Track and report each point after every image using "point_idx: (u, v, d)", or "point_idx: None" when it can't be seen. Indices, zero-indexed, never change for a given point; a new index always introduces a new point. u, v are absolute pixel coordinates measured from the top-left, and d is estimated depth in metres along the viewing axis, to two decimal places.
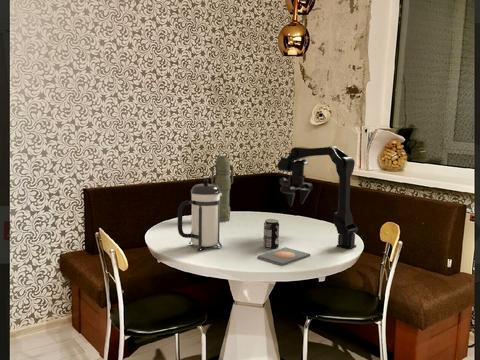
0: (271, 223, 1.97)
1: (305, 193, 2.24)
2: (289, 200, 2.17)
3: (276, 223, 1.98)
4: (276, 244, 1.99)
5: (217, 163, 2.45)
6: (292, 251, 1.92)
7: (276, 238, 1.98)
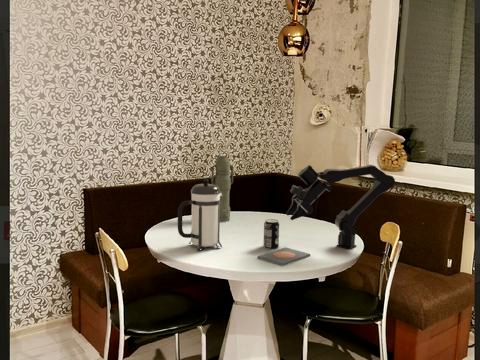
0: (271, 223, 1.97)
1: None
2: (296, 215, 1.95)
3: (276, 223, 1.98)
4: (276, 244, 1.99)
5: (217, 163, 2.45)
6: (292, 251, 1.92)
7: (276, 238, 1.98)
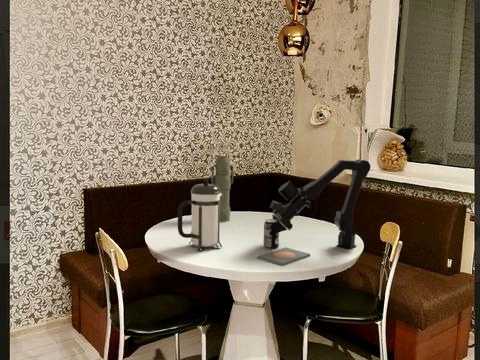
0: (271, 223, 1.97)
1: None
2: (275, 230, 1.96)
3: None
4: (276, 244, 1.99)
5: (217, 163, 2.45)
6: (292, 251, 1.92)
7: (276, 238, 1.98)
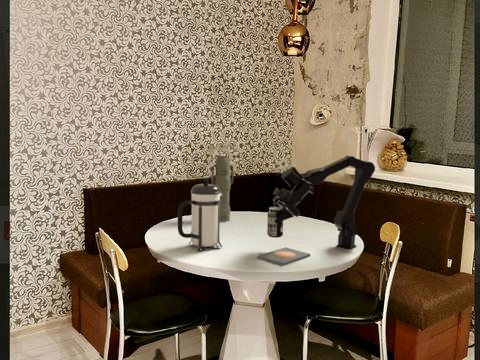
0: (276, 211, 1.90)
1: None
2: (281, 218, 1.90)
3: (281, 210, 1.92)
4: (281, 232, 1.93)
5: (217, 163, 2.45)
6: (292, 251, 1.92)
7: (281, 226, 1.92)
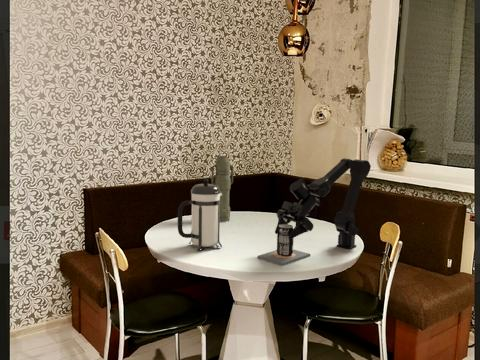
0: (288, 229, 1.83)
1: None
2: (295, 233, 1.82)
3: (292, 228, 1.85)
4: (292, 250, 1.86)
5: (217, 163, 2.45)
6: None
7: (292, 244, 1.86)
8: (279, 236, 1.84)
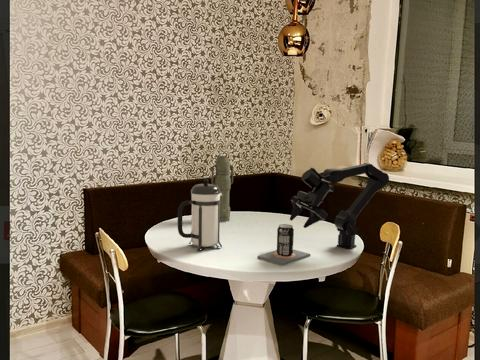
0: (288, 229, 1.83)
1: (299, 211, 2.00)
2: (310, 222, 1.90)
3: (292, 228, 1.85)
4: (292, 250, 1.86)
5: (217, 163, 2.45)
6: None
7: (292, 244, 1.86)
8: (279, 236, 1.84)
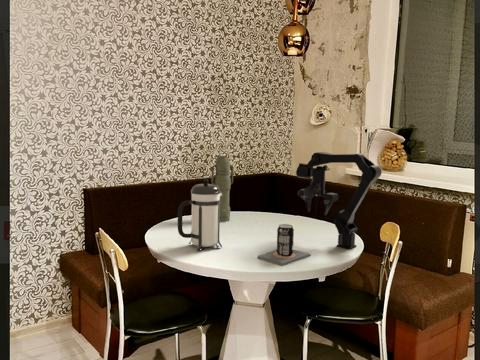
0: (288, 229, 1.83)
1: (310, 199, 2.16)
2: (327, 208, 2.08)
3: (292, 228, 1.85)
4: (292, 250, 1.86)
5: (217, 163, 2.45)
6: None
7: (292, 244, 1.86)
8: (279, 236, 1.84)
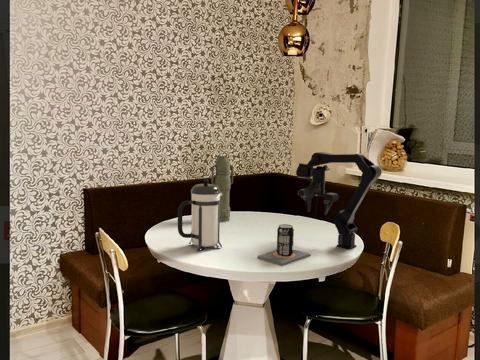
0: (288, 229, 1.83)
1: (310, 199, 2.16)
2: (327, 208, 2.08)
3: (292, 228, 1.85)
4: (292, 250, 1.86)
5: (217, 163, 2.45)
6: None
7: (292, 244, 1.86)
8: (279, 236, 1.84)
